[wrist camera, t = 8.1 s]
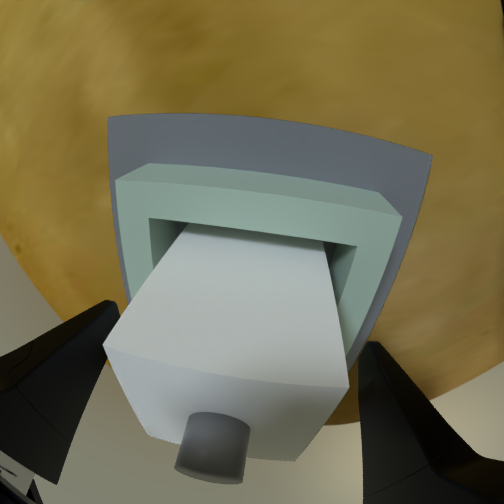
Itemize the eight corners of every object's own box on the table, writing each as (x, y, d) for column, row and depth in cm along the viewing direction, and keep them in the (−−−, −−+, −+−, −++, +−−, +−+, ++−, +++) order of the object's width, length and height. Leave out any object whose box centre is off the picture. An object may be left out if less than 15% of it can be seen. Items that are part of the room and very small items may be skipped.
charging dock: (426, 153, 9) (467, 171, 6) (345, 368, 15) (350, 409, 13) (115, 115, 10) (69, 124, 7) (141, 336, 16) (122, 373, 13)
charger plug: (320, 231, 11) (356, 456, 3) (297, 324, 13) (292, 499, 6) (194, 215, 11) (69, 399, 4) (196, 309, 13) (135, 470, 6)
